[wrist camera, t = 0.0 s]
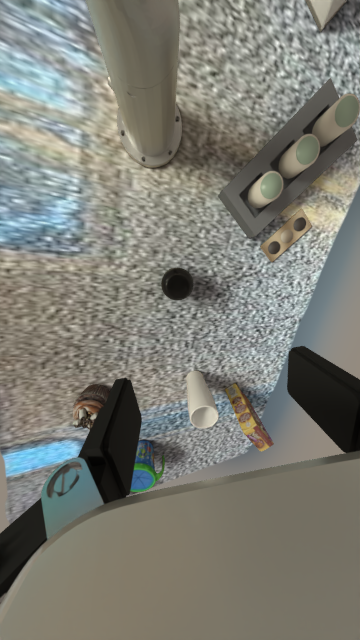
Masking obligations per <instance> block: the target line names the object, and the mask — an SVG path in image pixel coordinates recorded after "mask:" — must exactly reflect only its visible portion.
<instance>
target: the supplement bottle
mask: <svg viewBox="0 0 360 640" xmlns="http://www.w3.org/2000/svg"><path fill="white" fill-rule="evenodd" d="M161 285H162V290H163V292H164V294H165V295H166V296H167V297H168V298H170V299H172V300H182V299H185V298H186V297H188V296H189V295H190V293H191V292H192V289H193V279H192V277H191V275H190V274H189V272H187V271H186V270H184V269H182V268H171V269H169V270H168V271H167V272H166V273H165V274H164V276H163V278H162V283H161Z"/></svg>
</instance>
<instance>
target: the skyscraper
mask: <svg viewBox="0 0 360 640" xmlns="http://www.w3.org/2000/svg"><path fill="white" fill-rule="evenodd" d="M305 1H306V3H307V5H308V7H309V9H310V11H311V13H312V15H313V18H314V20H315V22H316V24H317V26H318V28H319V30H320V32H321V31H322V30H323V29H324V27H325V26H326V25H327V24H328V23H329V22H330V20H331V19H332V18H333V17H334V16H335V14H336V13H337V12H338V11H339V10H340V9H341V7H342V6H343V5H344V4H345V3H346V1H347V0H305Z"/></svg>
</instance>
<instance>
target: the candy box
mask: <svg viewBox="0 0 360 640" xmlns="http://www.w3.org/2000/svg"><path fill="white" fill-rule="evenodd" d="M225 391H226V393H227V396H228V398H229V400H230V403H231V405H232V407H233V410H234V412H235V414H236V417H237V419H238V421H239V424H240V426H241V428H242V431H243V433H244V434H245V435H246V436H247V437H248V438H249V440H250V441H251V442H252V443H253V444H254V445H255V446H256V447H257V448H258V449H259V450H260V451H263V450H265V449H267V448H269V447H270V446H272V445H273V444H274V443H273V442H272V440H271V438H270V437H269V435H268V433H267V431H266V429H265V428H264V426H263V424H262V422H261V421H260V419H259V417H258V415H257V414H256V412H255V410H254V408H253V407H252V405H251V403H250V402H249V400H248V398H247V397H246V396H245V395H244V394H243V392H242V391H241V390H240V389H239V387H238V386H237V385H236V384H235V383H234V384H233V385H231V386H229V387H228V388H226V389H225Z"/></svg>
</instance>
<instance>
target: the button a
mask: <svg viewBox="0 0 360 640" xmlns="http://www.w3.org/2000/svg"><path fill="white" fill-rule="evenodd" d="M282 190H283V179H282V176H281V175H280V174H279V173H278V172H276V171H269V172H267V173H265V174H264V175H263V176H262V177H261V178H260V179H259V180H258V181H256V182H255V183H254V184H253V185H252V186H251V188H250V189H249V192H248V202H249V204H250V205H251V206H252V207H253V208H262V207H264V206H265V205H267V204H269V203H270V202H272V201H274V200H275V199H277V198H278V197H279V196H280V194H281V192H282Z"/></svg>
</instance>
